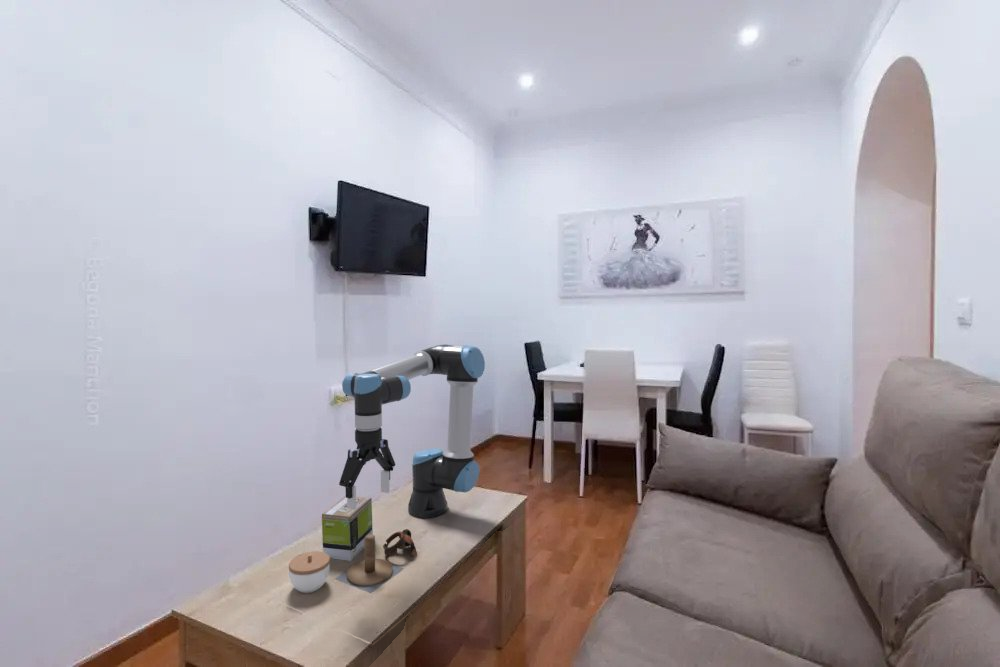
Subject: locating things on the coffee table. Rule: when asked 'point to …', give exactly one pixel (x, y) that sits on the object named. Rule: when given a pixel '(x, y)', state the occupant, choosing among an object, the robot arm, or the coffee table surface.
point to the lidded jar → (309, 571)
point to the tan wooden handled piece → (369, 567)
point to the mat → (368, 588)
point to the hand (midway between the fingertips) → (369, 499)
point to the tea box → (346, 528)
